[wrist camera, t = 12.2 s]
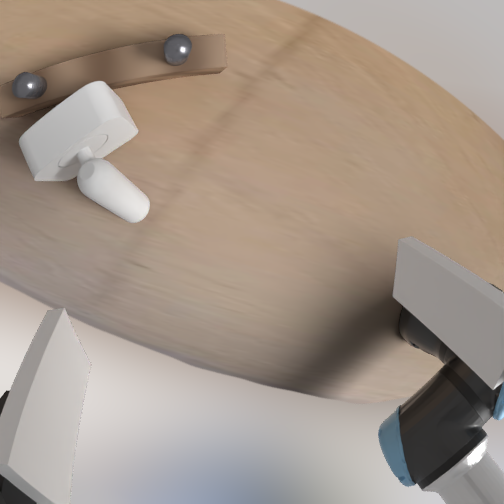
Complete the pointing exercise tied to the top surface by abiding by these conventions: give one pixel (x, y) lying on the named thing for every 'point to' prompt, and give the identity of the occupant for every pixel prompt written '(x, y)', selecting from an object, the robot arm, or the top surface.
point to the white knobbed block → (86, 149)
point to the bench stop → (114, 71)
